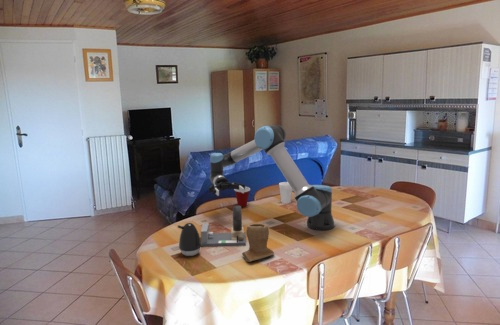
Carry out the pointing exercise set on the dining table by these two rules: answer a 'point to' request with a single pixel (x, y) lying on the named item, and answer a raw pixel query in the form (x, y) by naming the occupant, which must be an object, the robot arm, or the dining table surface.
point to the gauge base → (218, 238)
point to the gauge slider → (237, 224)
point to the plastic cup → (242, 197)
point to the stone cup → (257, 242)
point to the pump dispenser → (189, 240)
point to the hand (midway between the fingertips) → (231, 192)
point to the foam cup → (285, 192)
